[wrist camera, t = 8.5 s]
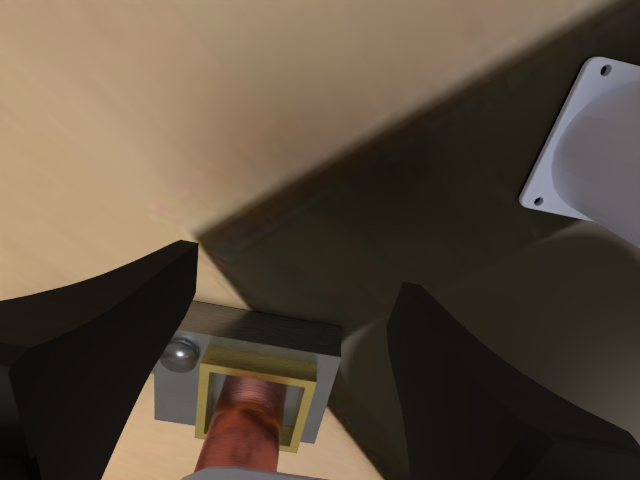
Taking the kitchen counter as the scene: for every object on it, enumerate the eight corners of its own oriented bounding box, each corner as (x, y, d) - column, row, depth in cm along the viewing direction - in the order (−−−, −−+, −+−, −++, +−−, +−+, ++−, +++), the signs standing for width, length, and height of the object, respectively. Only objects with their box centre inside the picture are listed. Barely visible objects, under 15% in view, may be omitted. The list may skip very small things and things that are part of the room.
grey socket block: (339, 326, 26) (341, 375, 22) (315, 409, 30) (313, 463, 26) (149, 293, 25) (115, 337, 21) (150, 383, 29) (121, 435, 25)
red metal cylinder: (290, 373, 24) (275, 504, 17) (281, 418, 26) (263, 553, 18) (225, 363, 23) (180, 492, 16) (220, 409, 25) (177, 543, 18)
